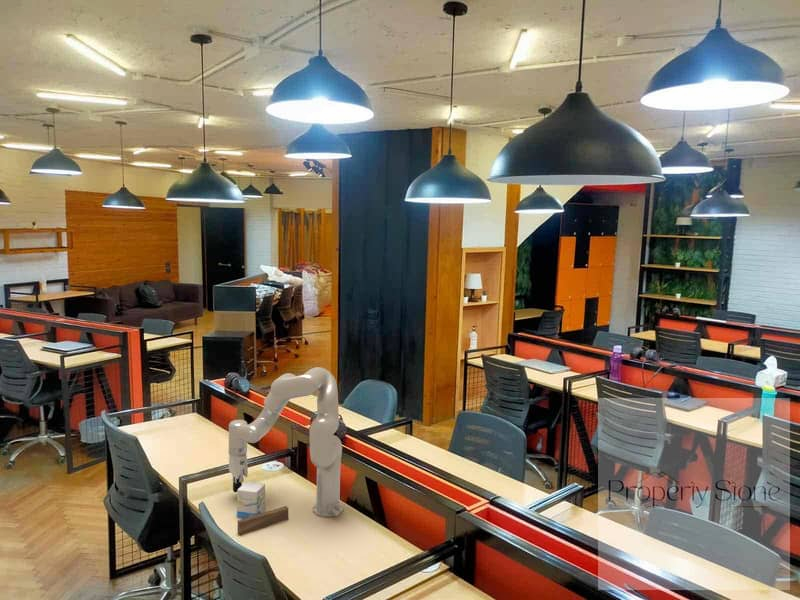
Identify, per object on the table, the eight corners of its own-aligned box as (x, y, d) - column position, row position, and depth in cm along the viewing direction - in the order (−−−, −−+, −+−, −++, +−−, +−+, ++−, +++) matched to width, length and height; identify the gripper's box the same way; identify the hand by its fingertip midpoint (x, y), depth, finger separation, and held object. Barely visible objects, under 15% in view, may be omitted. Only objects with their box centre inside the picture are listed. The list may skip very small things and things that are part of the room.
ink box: (256, 520, 216) (256, 492, 215) (236, 517, 218) (236, 489, 217) (265, 509, 225) (265, 482, 223) (246, 507, 226) (246, 480, 225)
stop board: (288, 519, 217) (288, 507, 217) (239, 535, 205) (239, 522, 204) (286, 517, 219) (286, 505, 218) (237, 533, 206) (237, 520, 206)
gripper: (253, 453, 226) (252, 495, 228) (239, 442, 238) (239, 482, 240) (235, 457, 221) (235, 500, 224) (222, 445, 233) (222, 486, 235)
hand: (237, 490), depth 232 cm, fingers closed
